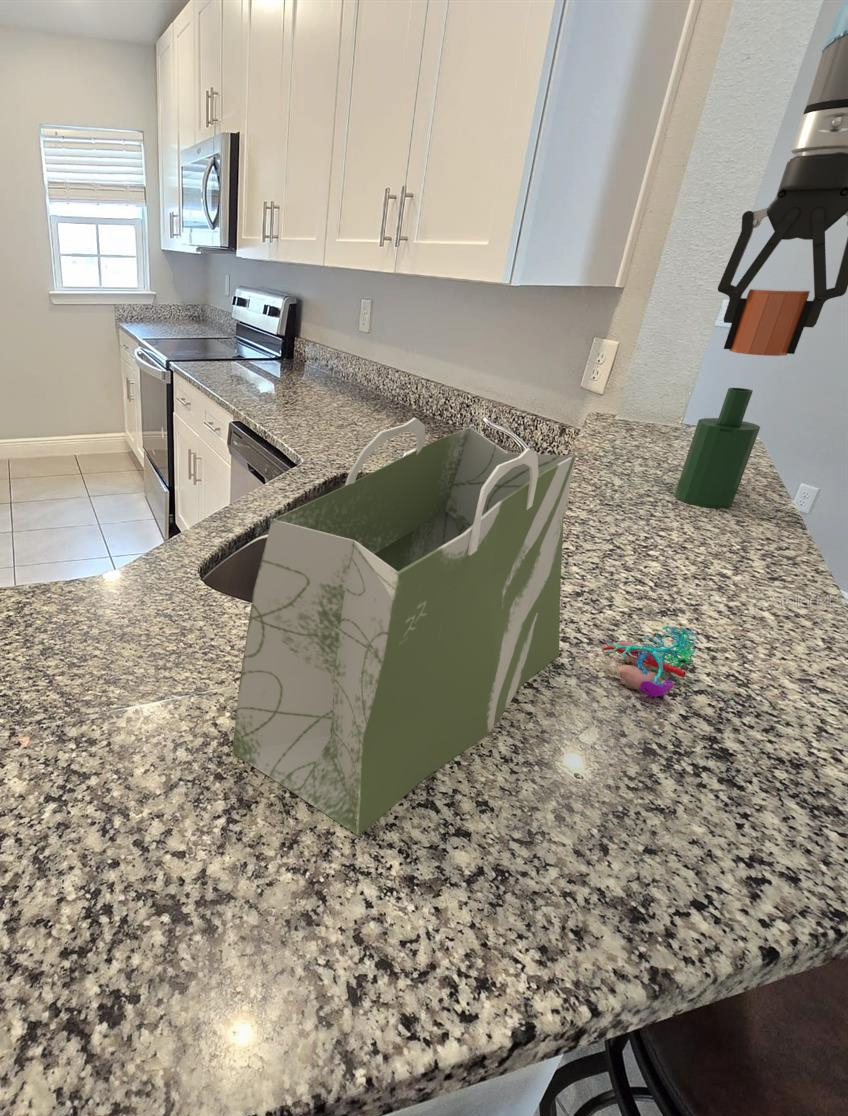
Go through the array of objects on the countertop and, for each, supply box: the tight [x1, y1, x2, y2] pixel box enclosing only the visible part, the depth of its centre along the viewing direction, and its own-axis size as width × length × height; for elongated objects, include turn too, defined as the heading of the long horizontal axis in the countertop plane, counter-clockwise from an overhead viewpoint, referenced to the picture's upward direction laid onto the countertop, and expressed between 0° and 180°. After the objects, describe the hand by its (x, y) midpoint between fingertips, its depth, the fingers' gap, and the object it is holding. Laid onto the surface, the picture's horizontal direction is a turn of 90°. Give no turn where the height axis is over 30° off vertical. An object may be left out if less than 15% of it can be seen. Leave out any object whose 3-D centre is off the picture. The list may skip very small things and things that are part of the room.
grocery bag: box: [231, 417, 577, 837], centre depth 52 cm, size 32×14×23 cm, turn 136°
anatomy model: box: [601, 625, 699, 698], centre depth 60 cm, size 5×8×7 cm
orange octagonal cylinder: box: [728, 288, 811, 357], centre depth 92 cm, size 7×7×8 cm
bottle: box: [674, 387, 761, 509], centre depth 102 cm, size 8×8×17 cm
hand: (758, 350), depth 93 cm, fingers closed on orange octagonal cylinder, 7 cm apart
